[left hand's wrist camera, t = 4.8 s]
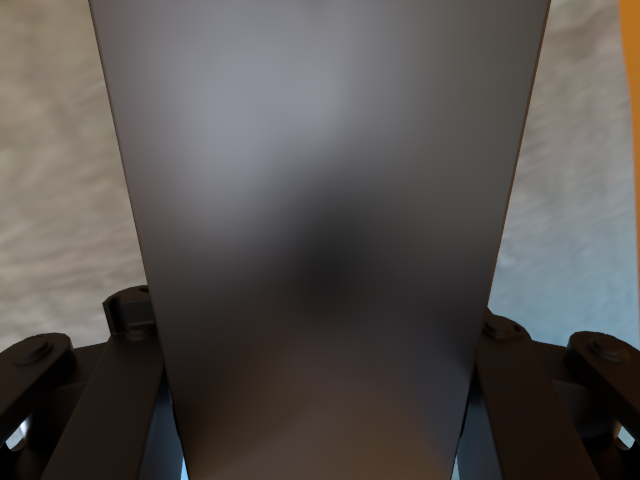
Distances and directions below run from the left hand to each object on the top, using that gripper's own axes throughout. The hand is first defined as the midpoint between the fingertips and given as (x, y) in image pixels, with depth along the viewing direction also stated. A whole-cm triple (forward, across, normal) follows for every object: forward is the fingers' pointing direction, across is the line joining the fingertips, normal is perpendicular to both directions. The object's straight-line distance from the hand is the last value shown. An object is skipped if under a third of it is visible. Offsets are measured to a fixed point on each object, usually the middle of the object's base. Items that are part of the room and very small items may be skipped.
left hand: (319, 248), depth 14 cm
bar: (+1, 0, -8) cm, 8 cm away
